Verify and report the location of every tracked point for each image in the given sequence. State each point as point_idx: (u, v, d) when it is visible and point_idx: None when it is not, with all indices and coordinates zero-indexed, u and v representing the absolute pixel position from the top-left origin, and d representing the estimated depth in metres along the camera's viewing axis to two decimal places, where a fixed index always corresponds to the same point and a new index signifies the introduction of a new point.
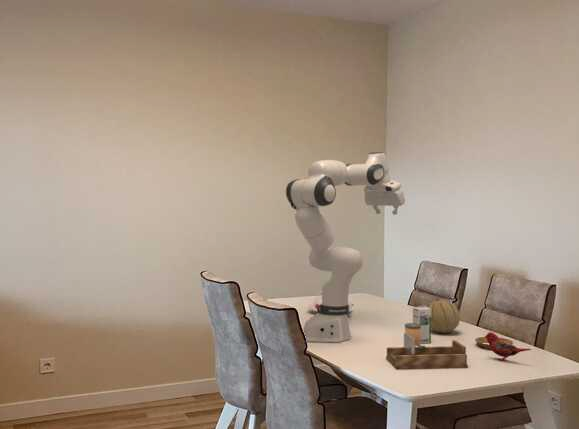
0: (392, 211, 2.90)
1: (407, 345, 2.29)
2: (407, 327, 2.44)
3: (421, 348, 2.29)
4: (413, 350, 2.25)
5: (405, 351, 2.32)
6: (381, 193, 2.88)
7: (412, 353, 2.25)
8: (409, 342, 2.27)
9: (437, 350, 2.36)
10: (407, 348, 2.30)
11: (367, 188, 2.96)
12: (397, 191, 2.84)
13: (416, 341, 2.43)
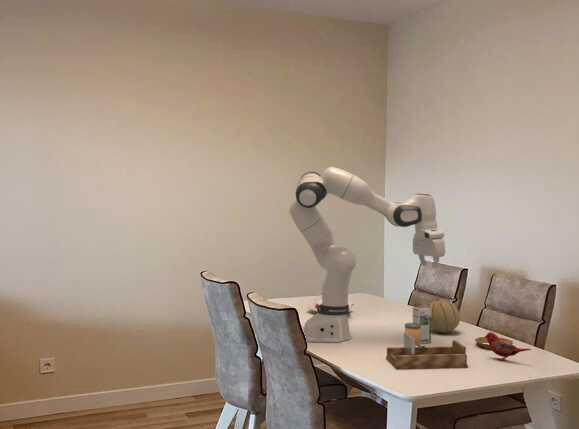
0: (432, 263, 2.53)
1: (407, 345, 2.29)
2: (407, 327, 2.44)
3: (421, 348, 2.29)
4: (413, 350, 2.25)
5: (405, 351, 2.32)
6: (422, 240, 2.55)
7: (412, 353, 2.25)
8: (409, 342, 2.27)
9: (437, 350, 2.36)
10: (407, 348, 2.30)
11: (416, 235, 2.65)
12: (436, 240, 2.49)
13: (416, 341, 2.43)
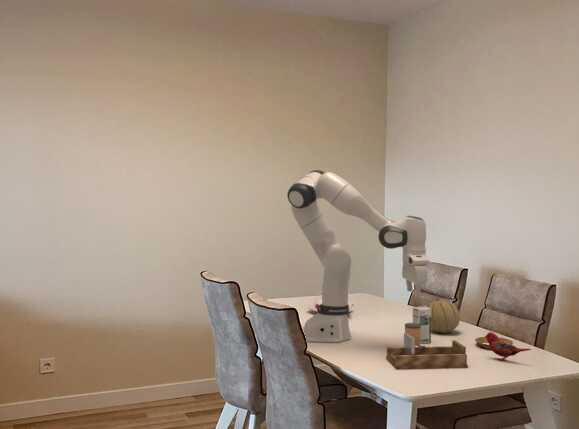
0: None
1: (407, 345, 2.29)
2: (407, 327, 2.44)
3: (421, 348, 2.29)
4: (413, 350, 2.25)
5: (405, 351, 2.32)
6: (407, 265, 2.43)
7: (412, 353, 2.25)
8: (409, 342, 2.27)
9: (437, 350, 2.36)
10: (407, 348, 2.30)
11: None
12: (418, 266, 2.36)
13: (416, 341, 2.43)
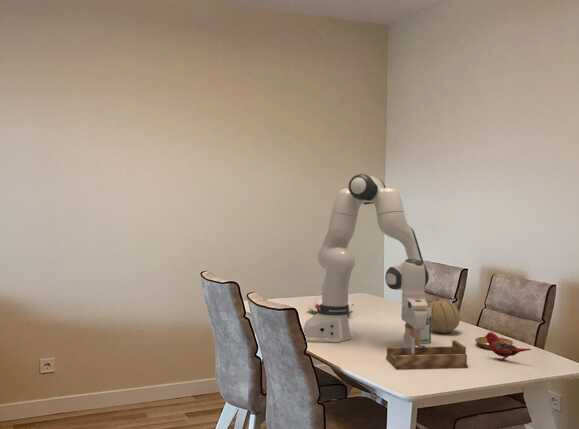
0: None
1: (407, 345, 2.29)
2: (407, 327, 2.44)
3: (421, 348, 2.29)
4: (413, 350, 2.25)
5: (405, 351, 2.32)
6: (406, 309, 2.44)
7: (412, 353, 2.25)
8: (409, 342, 2.27)
9: (437, 350, 2.36)
10: (407, 348, 2.30)
11: None
12: (417, 311, 2.37)
13: (416, 341, 2.43)
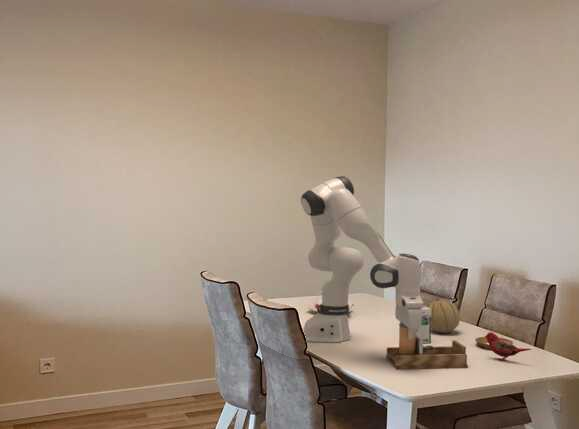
0: (407, 334, 2.26)
1: None
2: (402, 327, 2.27)
3: (429, 348, 2.30)
4: (421, 350, 2.25)
5: None
6: (400, 307, 2.27)
7: (420, 353, 2.25)
8: (417, 342, 2.28)
9: (437, 350, 2.36)
10: None
11: None
12: (412, 310, 2.20)
13: (411, 341, 2.26)
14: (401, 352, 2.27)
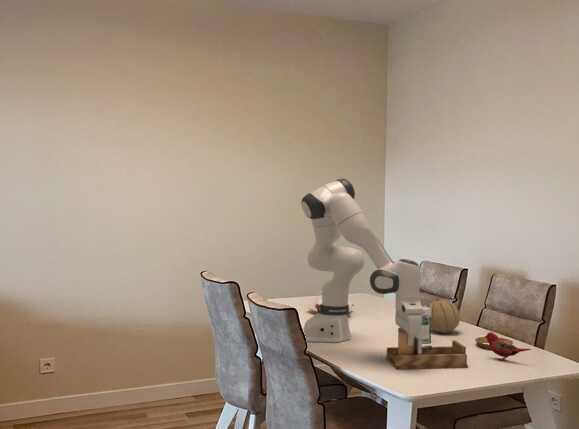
0: (407, 339, 2.26)
1: None
2: (401, 332, 2.27)
3: (428, 348, 2.30)
4: (420, 350, 2.25)
5: None
6: (400, 312, 2.27)
7: (419, 353, 2.25)
8: (416, 342, 2.28)
9: (437, 350, 2.36)
10: None
11: None
12: (412, 315, 2.20)
13: (410, 347, 2.26)
14: None
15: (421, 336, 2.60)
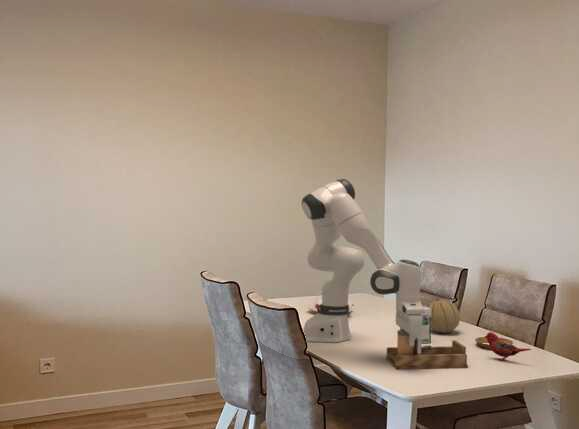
0: (408, 340, 2.25)
1: None
2: (400, 334, 2.27)
3: (427, 348, 2.30)
4: (419, 350, 2.25)
5: None
6: (401, 313, 2.27)
7: (418, 353, 2.25)
8: (415, 342, 2.28)
9: (437, 350, 2.36)
10: None
11: None
12: (412, 316, 2.20)
13: (409, 349, 2.26)
14: None
15: (421, 336, 2.60)
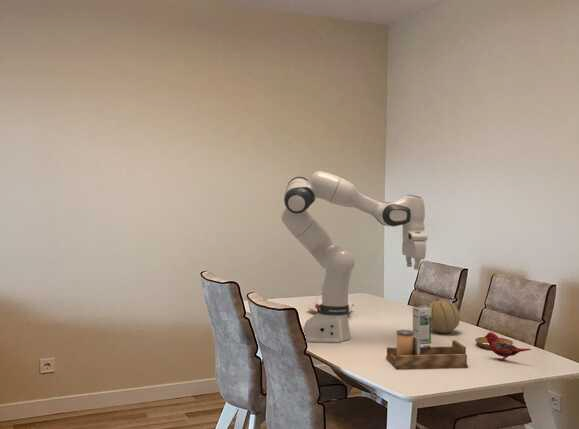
0: None
1: None
2: (399, 334, 2.27)
3: (426, 348, 2.29)
4: (418, 350, 2.25)
5: None
6: (407, 241, 2.57)
7: (417, 353, 2.25)
8: (414, 342, 2.28)
9: (437, 350, 2.36)
10: None
11: None
12: (417, 242, 2.50)
13: (408, 349, 2.26)
14: None
15: (421, 336, 2.60)
